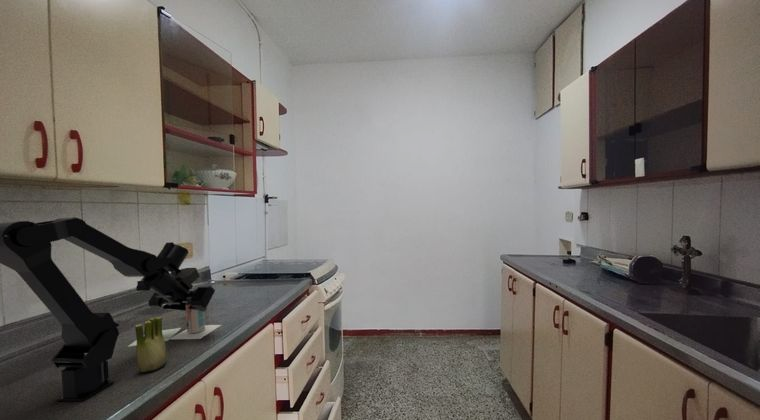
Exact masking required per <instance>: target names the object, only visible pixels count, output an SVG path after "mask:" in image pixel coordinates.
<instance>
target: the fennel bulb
mask: <svg viewBox="0 0 760 420" xmlns="http://www.w3.org/2000/svg"><path fill="white" fill-rule="evenodd" d="M134 326H135V327H134V328H135V329H134V330H135V334H136V340H137V346H136V363H137V367H138V369H139V371H140V372H141V373H147V372H152V371H156V370H158V369H160V368H162V367H164V366H165V364H166V359H167V346H166V341H164V338H163V334H162V330H163V317H161V316H160V317H159V316H158V317H152V318H149V319H148V320H147V321H145V322H144V327H143V324H141V323H140V324H139V323H138V324H136V325H134ZM143 328H144V329H143Z"/></svg>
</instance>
